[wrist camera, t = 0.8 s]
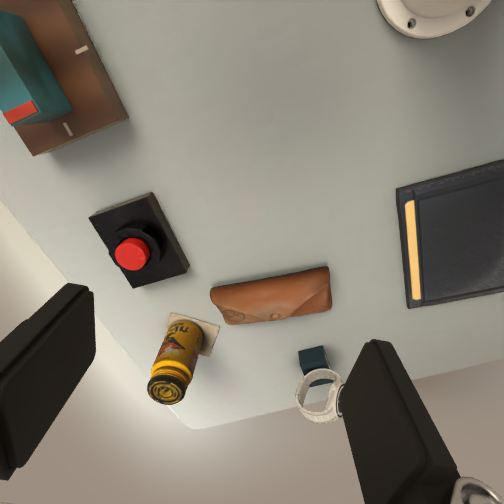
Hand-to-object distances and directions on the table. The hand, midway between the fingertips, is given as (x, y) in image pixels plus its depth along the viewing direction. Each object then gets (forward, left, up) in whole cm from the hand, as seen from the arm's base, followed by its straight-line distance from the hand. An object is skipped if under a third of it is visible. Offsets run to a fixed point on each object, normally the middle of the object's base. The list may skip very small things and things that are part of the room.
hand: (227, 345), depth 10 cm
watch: (+28, +22, -32) cm, 47 cm away
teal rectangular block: (-1, -25, -28) cm, 38 cm away
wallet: (0, +30, -32) cm, 43 cm away
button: (+16, -11, -28) cm, 34 cm away
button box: (+16, -11, -32) cm, 37 cm away
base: (-1, -25, -32) cm, 40 cm away
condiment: (+31, 0, -32) cm, 44 cm away
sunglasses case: (+18, +10, -32) cm, 38 cm away
